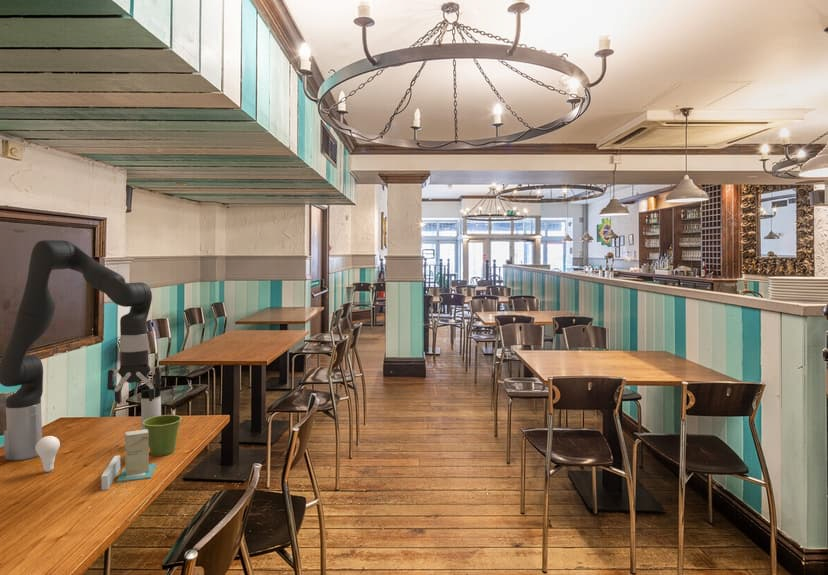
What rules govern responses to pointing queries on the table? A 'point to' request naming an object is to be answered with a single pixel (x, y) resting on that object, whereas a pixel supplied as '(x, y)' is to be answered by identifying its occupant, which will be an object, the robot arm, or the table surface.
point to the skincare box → (136, 452)
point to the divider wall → (110, 472)
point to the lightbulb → (47, 451)
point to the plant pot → (162, 433)
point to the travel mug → (150, 405)
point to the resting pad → (137, 476)
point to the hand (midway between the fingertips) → (135, 401)
